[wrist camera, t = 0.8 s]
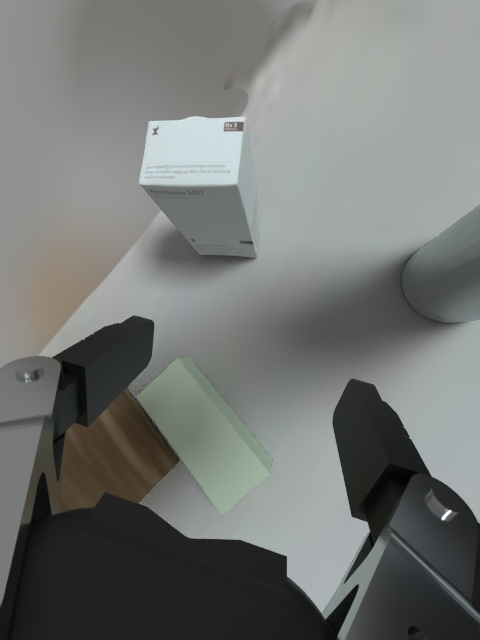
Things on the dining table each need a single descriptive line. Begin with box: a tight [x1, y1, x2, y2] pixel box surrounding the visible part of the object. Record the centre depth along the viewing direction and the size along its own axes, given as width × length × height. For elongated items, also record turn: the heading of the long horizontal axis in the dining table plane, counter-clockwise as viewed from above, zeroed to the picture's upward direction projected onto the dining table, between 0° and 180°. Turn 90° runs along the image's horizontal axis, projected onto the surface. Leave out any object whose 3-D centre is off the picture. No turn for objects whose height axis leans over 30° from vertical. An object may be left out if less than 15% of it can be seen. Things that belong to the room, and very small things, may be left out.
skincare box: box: [139, 116, 261, 258], centre depth 26 cm, size 8×6×15 cm
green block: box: [136, 356, 273, 515], centre depth 30 cm, size 7×16×4 cm, turn 42°
